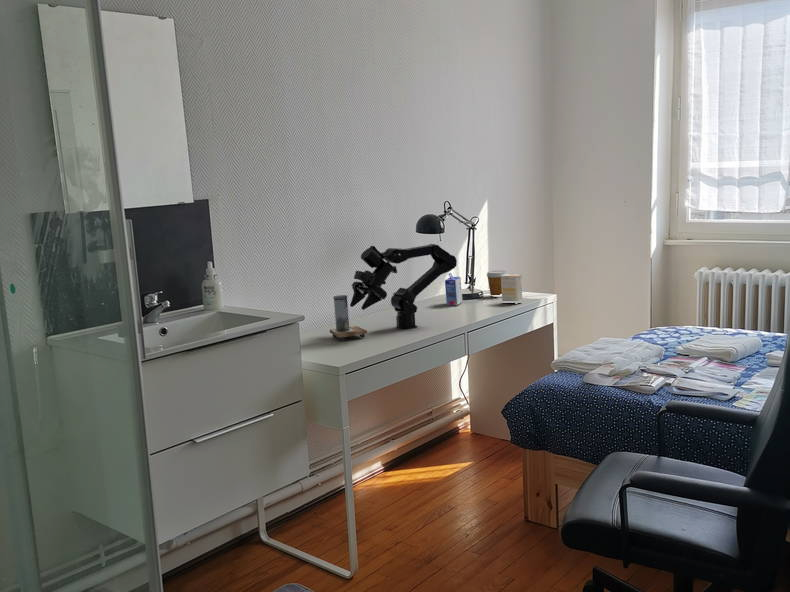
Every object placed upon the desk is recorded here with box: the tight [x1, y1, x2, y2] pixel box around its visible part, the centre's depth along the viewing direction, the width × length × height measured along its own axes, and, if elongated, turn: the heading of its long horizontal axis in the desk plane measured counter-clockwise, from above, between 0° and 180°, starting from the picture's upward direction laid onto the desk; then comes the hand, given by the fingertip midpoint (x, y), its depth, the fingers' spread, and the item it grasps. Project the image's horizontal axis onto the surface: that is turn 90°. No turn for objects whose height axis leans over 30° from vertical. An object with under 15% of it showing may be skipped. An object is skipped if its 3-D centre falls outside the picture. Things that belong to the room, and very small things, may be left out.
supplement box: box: [501, 273, 523, 301], centre depth 340 cm, size 8×5×13 cm, turn 49°
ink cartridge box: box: [444, 272, 463, 306], centre depth 347 cm, size 10×6×14 cm, turn 161°
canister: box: [333, 294, 350, 332], centre depth 285 cm, size 5×5×13 cm
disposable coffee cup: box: [486, 270, 507, 296], centre depth 361 cm, size 10×10×12 cm
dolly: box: [329, 325, 368, 342], centre depth 286 cm, size 11×11×3 cm
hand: (356, 307), depth 288 cm, fingers open, 9 cm apart
